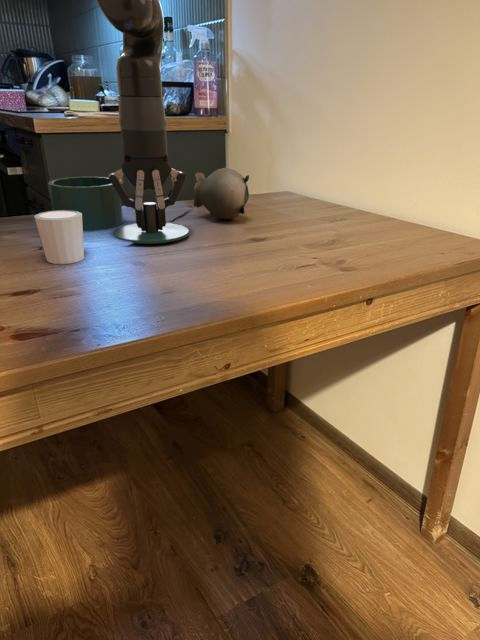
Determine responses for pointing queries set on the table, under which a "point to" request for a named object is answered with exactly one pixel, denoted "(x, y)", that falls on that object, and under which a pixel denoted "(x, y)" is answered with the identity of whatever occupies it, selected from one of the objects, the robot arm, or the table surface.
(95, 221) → the pot
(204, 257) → the table surface
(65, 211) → the shot glass
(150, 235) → the lid
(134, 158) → the robot arm
